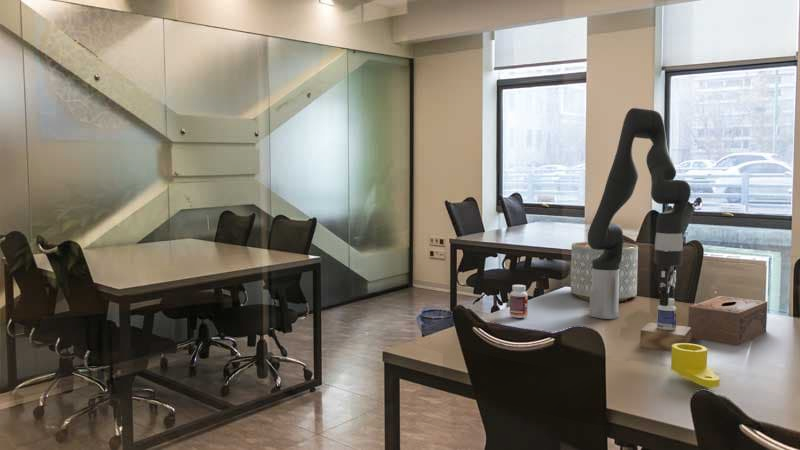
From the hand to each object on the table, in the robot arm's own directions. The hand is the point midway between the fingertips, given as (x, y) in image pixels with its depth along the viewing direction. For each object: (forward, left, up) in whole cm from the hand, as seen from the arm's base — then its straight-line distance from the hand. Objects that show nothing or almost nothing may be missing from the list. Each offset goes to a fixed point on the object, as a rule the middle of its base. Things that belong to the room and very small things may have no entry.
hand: (666, 303), depth 193 cm
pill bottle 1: (-52, +15, -13) cm, 55 cm away
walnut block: (0, 0, -13) cm, 13 cm away
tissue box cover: (+14, +25, -13) cm, 32 cm away
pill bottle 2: (0, 0, -8) cm, 8 cm away
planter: (-35, +63, -13) cm, 73 cm away
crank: (+12, -27, -13) cm, 32 cm away
